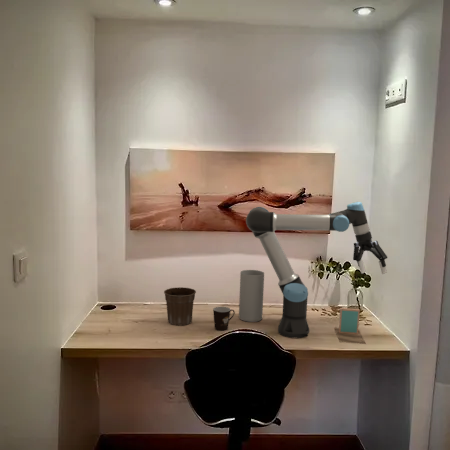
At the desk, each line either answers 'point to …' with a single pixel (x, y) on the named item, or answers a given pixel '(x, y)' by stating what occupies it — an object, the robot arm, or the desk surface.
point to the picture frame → (349, 320)
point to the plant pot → (179, 305)
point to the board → (350, 337)
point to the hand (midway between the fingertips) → (373, 273)
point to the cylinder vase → (251, 295)
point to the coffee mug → (222, 318)
